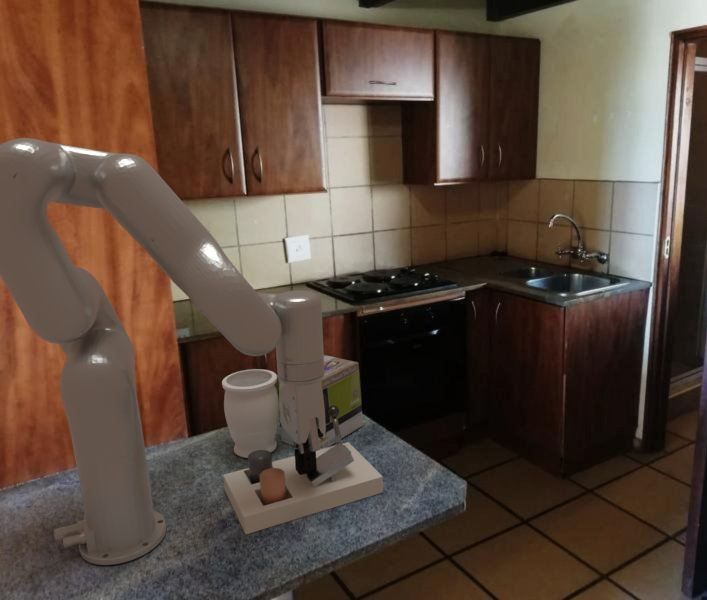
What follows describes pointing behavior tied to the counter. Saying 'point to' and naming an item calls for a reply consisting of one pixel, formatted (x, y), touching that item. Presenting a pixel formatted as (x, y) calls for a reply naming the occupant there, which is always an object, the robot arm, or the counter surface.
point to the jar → (251, 410)
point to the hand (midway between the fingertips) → (306, 470)
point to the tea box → (337, 399)
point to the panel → (300, 492)
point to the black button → (259, 464)
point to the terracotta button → (272, 485)
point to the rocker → (329, 464)
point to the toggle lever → (335, 422)
